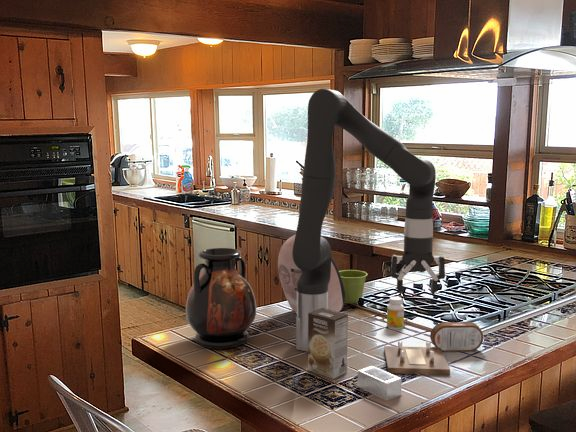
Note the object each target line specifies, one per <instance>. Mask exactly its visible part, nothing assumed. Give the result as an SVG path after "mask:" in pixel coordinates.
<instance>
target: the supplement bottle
mask: <svg viewBox="0 0 576 432" xmlns="http://www.w3.org/2000/svg"><path fill="white" fill-rule="evenodd" d="M402 303H403V299H402V297H400V296H391V297H389V303H388V304H387V309H386V310H387V311H386V327H387V328H389V329H395V330H397V329H398V330H399V329H403V328H404V324H405V323H404V322H405V321H404V320H405V306H404V305H403V304H402Z"/></svg>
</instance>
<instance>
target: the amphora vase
mask: <svg viewBox="0 0 576 432" xmlns="http://www.w3.org/2000/svg"><path fill="white" fill-rule="evenodd" d="M198 257H199V258H200V259H202V260H204V263H203V262H202V263H198V264H197V265H196V266H195V268H194V270H193V276H192V278H193V283H192V286H191V287H190V288H189V292H188V294H187V297H186V302H185V303H186V304H185V318H186V320H187V322H188V324H189V325H190V327H191V329H193V331H194V332H196V333H195V336H194V340H195V342H196V343H197V344H198V345H199V346H201V347H202V348H207V349H212V350H213V349H215V350H217V349H218V350H222V349H224V350H225V349H231V348H235V347H238V346H241V345H243V344H245V343H246V342H247V341H248V340H249V336H250V335H249V332H248V329H249V328H250V327H251V326H252V324H253V322H254V321H255V318H256V316H257V302H256V297H255V293H254V291H253V289H252V287H251V284H250V283H249V281H248V280H247V277H246V275H247V274H246V273H247V270H246V268H247V267H246V262H245V260H244V258H243V257H242V251H241V250H238V249H237V248H230V247H215V248H213V247H212V248H208V249H204V250H201V251H200V252H199V253H198ZM237 263H238V264H239V268H240V270H239V271H238V269H237V268H236V265H237ZM202 269H204V270H203V272H202V273H201V270H202ZM200 273H201V275H200Z"/></svg>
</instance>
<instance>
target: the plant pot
mask: <svg viewBox="0 0 576 432" xmlns="http://www.w3.org/2000/svg"><path fill="white" fill-rule="evenodd" d="M339 273H340V276H341V278H342V281H343V284H344V288H345V294H346V298H345V303H346V304H358V300H359V298H363V294H364V287H365V283H366V279H367V276H368V274H369V273H367V272H366V271H364V270H363V271H362V270H357V269H344V270H339ZM345 303H344V304H345Z"/></svg>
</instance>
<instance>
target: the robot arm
mask: <svg viewBox="0 0 576 432" xmlns="http://www.w3.org/2000/svg"><path fill="white" fill-rule="evenodd" d="M307 104H308V105H307V136H306V137H307V138H306V140H307V141H306V148H305V154H304V165H303V170H302V172H303V173H302V179H301V180H302V181H301V193H300V200H299V211H298V220H297V221H298V222H297V227H296V230H295V234H296V235H295V234H294V235H295V240H294V245H293V250H292V256H293V261H294V263H295V265H296V266H297V267H298V268H299V269H300V270H302V273H301V276H300V278H299V280H298V281H297V313H296V317H295V334H296V335H295V339H296V340H295V343H296V345H295V349H296V350H297V351H302V352H307V353H308V313H310V312H313V311H315V310H318V309H320V308H325V309H328V284H329V282H330V277H331V256H332V249H331V246H330V244H329V241H328V240H327V239H326V238H325V237H323V236H322V227H323V224H324V223H323V222H324V220H325V218H326V214H327V212H328V210H329V208H330V205H331V204H332V203H331V202H332V199H333V196H334V193H335V192H334V191H335V183H336V176H337V175H336V173H337V172H336V171H337V169H336V159H335V155H334V147H333V140H334V139H333V137H334V130H335V126H337V127H338V128H341V129H343V130H344V131H346V132H347V133H348V134H350V135H351V136H352V137H354V138H355V139H356V140H357V141H358V142H359V143H360V144H361V145H362V146H363V147H364V149H365V150H366V151H368V152H369V153H370V154H371V155H372V156H373V157H375V158H376V159H378V160H379V161H381V163H383V164H385V165H386V166H388V167H389V168H390V169H391V170H392V171H394V173H396V174H397V176H399V177H400V178H401V179H402V180H403V182H406V183H407V184H408V185H409V190H408V191H409V192H408V196H407V199H406V202H405V220H404V229H403V254H402V255H396V254H392V255H391V263H390V264H391V265H390V277H391V278H392V279H393V278H394V279H395V280H396V289H397V292H399V294H403V293H404V292H403V287H404V283H403V282H404V280H403V278H404V277H405V276H406V275H408V273H409V272H411V273H416V272H419V273H425V272H427V274H429V275H430V277H431V279H430V281H431V282H430V294H431V295H435V294H436V293H438V282H439V280H444V279H446V269H445V268H446V267H445V265H446V264H445V257H444V256H443V255H438V256H437V255H435V256H434V255H433V248H434V247H433V242H434V221H433V214H434V213H433V210H434V208H433V207H434V204H433V203H434V202H433V199H434V193H435V187H436V176H437V175H436V173H437V172H436V167H435V166H434V164H433V163H432V162H431V161H430V160H428V159H420V158H419V157H417V156H416V155H415V154H413V153H412V152H411V151H409V150H408V148H407V147H406V145H405V144H403V143H402V142H401V141H400V140H398V139H397V138H395V137H394V136H392V135H391V134H390V133H388V132H387V131H385V130H384V129H382V128H381V127H379V126H378V125H376V124H375V123H374V122H372V121H371V120H370V119H368V118H367V117H366V116H364V114H363V113H361V112H360V111H359V110H358V109H357V108H356V107H355V106H354V105H353V104H352V103H351V102H350V101H349V100H348V99H347V98H346V97H345V96H344V95H343V94H342V93H341V92H340V91H338V90H335V89H331V88H320V89H317V90H315V91H314V92H313V93H312V95H311V96H310V98H309V100H308V103H307ZM401 261H402V262H403V264H404V265H403V266H402V268H401V269H400V271H399V272H398V273H397V265H398V264H399V263H400V262H401ZM434 261H435V263H436V264H437V265H438V273H437V274H436V273H435V271H434V270H433V269H432V267H431V266H432V264H433V263H434Z"/></svg>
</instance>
